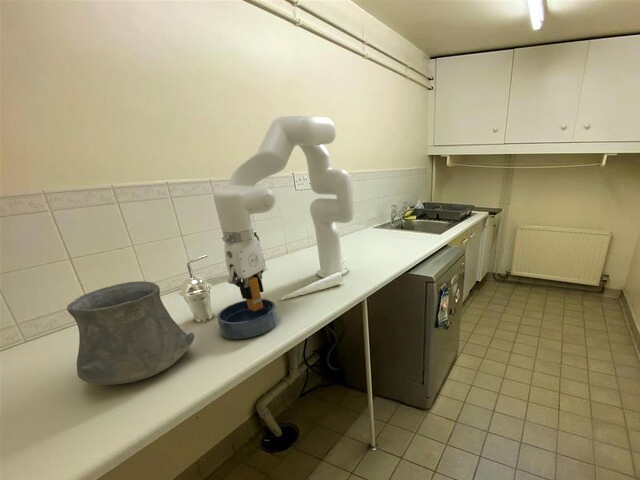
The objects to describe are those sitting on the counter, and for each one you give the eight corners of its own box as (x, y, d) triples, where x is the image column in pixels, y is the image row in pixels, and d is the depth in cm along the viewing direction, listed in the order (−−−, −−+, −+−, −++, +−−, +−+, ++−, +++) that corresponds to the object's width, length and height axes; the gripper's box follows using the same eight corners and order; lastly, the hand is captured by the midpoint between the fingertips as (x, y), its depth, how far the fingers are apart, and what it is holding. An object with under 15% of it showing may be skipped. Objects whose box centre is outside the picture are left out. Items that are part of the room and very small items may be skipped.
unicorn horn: (277, 297, 112) (275, 284, 110) (339, 281, 125) (338, 270, 123) (281, 301, 108) (278, 289, 106) (344, 285, 121) (343, 273, 119)
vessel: (184, 387, 69) (156, 307, 62) (60, 410, 63) (13, 325, 56) (212, 336, 88) (193, 270, 81) (119, 350, 83) (90, 281, 75)
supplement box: (264, 307, 95) (257, 277, 91) (254, 312, 93) (246, 281, 89) (258, 304, 97) (251, 275, 93) (248, 309, 94) (240, 279, 90)
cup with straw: (194, 313, 101) (176, 255, 94) (224, 310, 103) (209, 252, 96) (183, 327, 93) (163, 264, 86) (216, 322, 95) (199, 261, 88)
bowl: (247, 311, 102) (244, 296, 100) (288, 316, 98) (286, 301, 96) (208, 337, 88) (203, 320, 86) (254, 344, 84) (250, 326, 82)
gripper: (227, 245, 78) (243, 309, 85) (270, 229, 93) (281, 284, 100) (202, 243, 80) (221, 307, 86) (249, 228, 94) (261, 283, 101)
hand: (253, 294), depth 93 cm, fingers closed on supplement box, 4 cm apart
